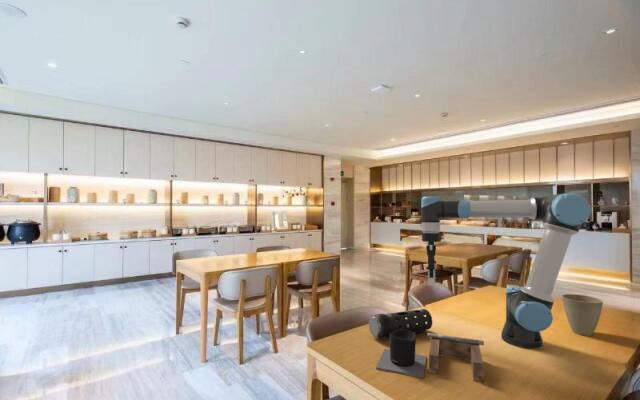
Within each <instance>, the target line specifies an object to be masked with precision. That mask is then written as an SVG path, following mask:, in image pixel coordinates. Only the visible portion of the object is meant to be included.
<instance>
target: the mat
mask: <svg viewBox="0 0 640 400" xmlns="http://www.w3.org/2000/svg"><path fill="white" fill-rule="evenodd" d="M426 363H427V355H421V354H416V353H415V362H414V364H413V365H412V366H408V367H403V366H398V365H395V364H394V363H392V361H391V359H390V349H387V348H384V349H383V351H382V354H381V356H380V358H379V360H378V363H377V365H376V367H375V369H376V370H380V371H383V372H384V371H385V372H389V373H395V374H396V373H397V374H401V375H405V376H411V377H415V378H421V379H424V377H425V370H426Z"/></svg>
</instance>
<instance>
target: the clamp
mask: <svg viewBox="0 0 640 400" xmlns="http://www.w3.org/2000/svg"><path fill="white" fill-rule="evenodd" d="M426 333H427V335H426V336H427V338H430V345H429V354H428V373H433V374H437V375H438V374H439V368H440V367H439V366H440V357H448V358H452V359H454V358H455V359H458V360H466V361H470V366H471V375H472V380H473V381H476V382H481V383H484V361H483V357H482V351H481V347H480V346H485V341H484V340H481V339H480V340H479V339H473V338H465V337H460V336H452V335H446V334H445V335H444V334H437V333H432V332H431V333H430V332H426Z"/></svg>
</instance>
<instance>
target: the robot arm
mask: <svg viewBox="0 0 640 400" xmlns="http://www.w3.org/2000/svg"><path fill="white" fill-rule="evenodd" d="M420 206H421V207H420V210H421V214H420V215H421V224H420V225H419V226H420V227H421V231H422V232H421V241H422V242H424V243H426V242H427V245H426V247H425V248H426V249H425V251H426V255H427V267H426V269H425V270H427V282H428V283H427V286H431V287H432V286H436V264H437V261H436V259H435V256H436V251H437V245H435V243H438V242H441V219H461V220H462V219H470V218H523V219H524V218H529V219H531V220H533V221H542V223H541V224H542V225H543V227H544V231H543V234H542V237H541V240H540V244H539V246H538V249H537V251H536V254H535V258H534V260H533V263H532V267H531V269H530V272H529V275H528V277H527V282H526V284H525V285H524V286H515V285H513V286H507V287H506V289H505V322H504V325H503V327H502V331H501V336H500V337H501V339H502V341H504V342H505V343H507V344H510V345H512V346H516V347H520V348H524V349H525V348H526V349H540V348H542V347H543V345H544V343H543V337H542V334H541V332H542V331H543V332H544V331H545V330H547V329H548V328H550V327H551V325H552V323H553V320H554V317H553V313H552V309H553V305H554V302H555V300H554V298H553V296H552V293H553V291H554V288H555V284H556V282H557V279H558V278H559V277H558V276H559V274H560V271H561V267H562V265H563V262H564V260H565V256H566V254H567V251H568V248H569V245H570V242H571V239H572V237H573V236H574V235H577V234H578V233H579V232H580V229H581V226H582V224H584V223H585V222H586V221H587V220H588V219H589V218H590V217H591V213H592V210H591V205H590V203H589V202H588V201H587V199H585V198H584V197H583V196H581V195H579V194H576V193H569V192H565V193H560V194H559V193H558V194H551V195H548V196H540V197H539V196H537V197H535V196H534V197H531V198H529V199H509V200H508V199H504V200H503V199H501V200H500V199H497V200H496V199H495V200H494V199H493V200H492V199H491V200H464V199H462V200H461V199H460V200H441V199H440V196H437V195H436V196H433V195H432V196H430V195H429V196H422V198H421V204H420Z"/></svg>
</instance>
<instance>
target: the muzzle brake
mask: <svg viewBox="0 0 640 400" xmlns="http://www.w3.org/2000/svg"><path fill="white" fill-rule="evenodd" d="M432 327H433V318H432V314H431V313H430V311H429V310H428V309H425V308H421V309H420V308H419V309H414V310H407V311H399V312H398V311H397V312H390V313H386V314H385V313H379V314H378V313H377V314H374V315H373V316H370V318H369V320H368V328H369V329H368V330H369V331H370V334H371V335H372V336H373V337H375V338H376V337H377V338H380V339H381V338H386V337H389V338H390V333H393V332H394V331H396V330H399V329H403V330H408V331H411V332H413V333H415V334H417V333H423V332H426V331H427V330H431V328H432Z"/></svg>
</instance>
